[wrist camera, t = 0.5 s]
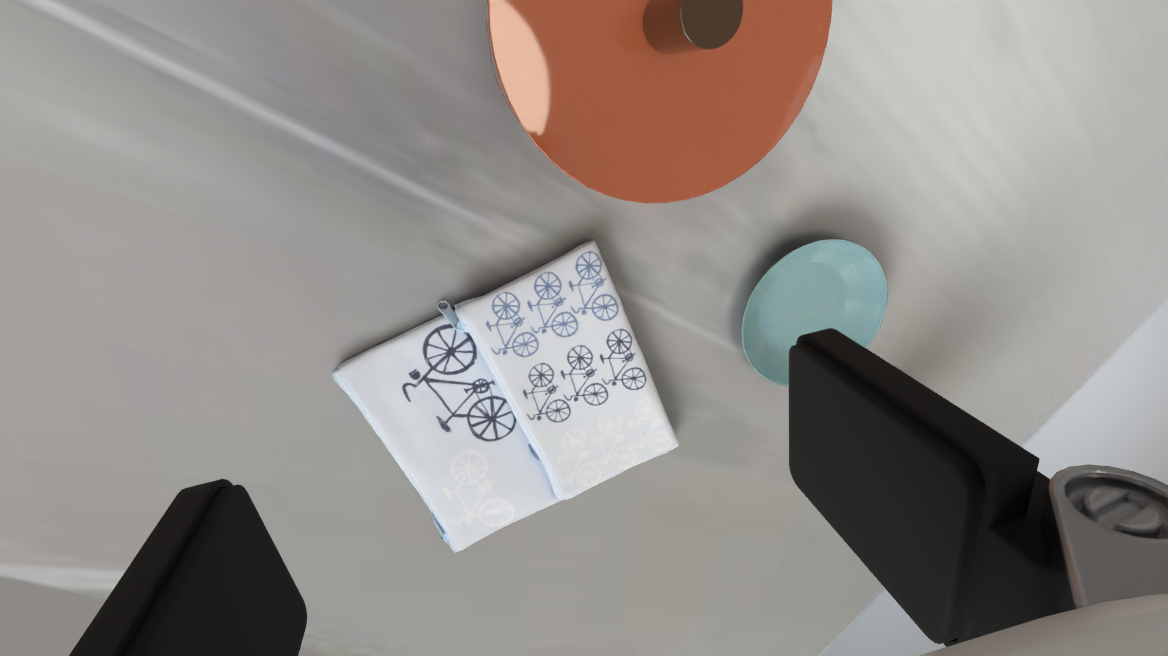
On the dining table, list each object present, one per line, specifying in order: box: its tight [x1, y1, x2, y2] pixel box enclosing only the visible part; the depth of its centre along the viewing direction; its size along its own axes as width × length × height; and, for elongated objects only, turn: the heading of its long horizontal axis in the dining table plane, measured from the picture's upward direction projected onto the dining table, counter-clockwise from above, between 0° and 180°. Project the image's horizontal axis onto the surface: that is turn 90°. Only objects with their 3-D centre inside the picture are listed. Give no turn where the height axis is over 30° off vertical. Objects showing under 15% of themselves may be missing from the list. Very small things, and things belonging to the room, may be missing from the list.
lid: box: [487, 0, 832, 203], centre depth 24 cm, size 16×16×6 cm
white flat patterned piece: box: [332, 240, 679, 553], centre depth 41 cm, size 19×20×2 cm
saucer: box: [741, 239, 888, 387], centre depth 43 cm, size 12×12×2 cm
